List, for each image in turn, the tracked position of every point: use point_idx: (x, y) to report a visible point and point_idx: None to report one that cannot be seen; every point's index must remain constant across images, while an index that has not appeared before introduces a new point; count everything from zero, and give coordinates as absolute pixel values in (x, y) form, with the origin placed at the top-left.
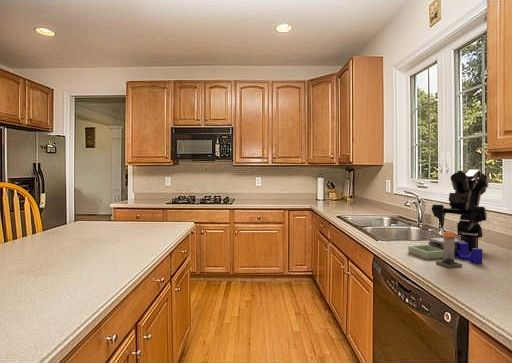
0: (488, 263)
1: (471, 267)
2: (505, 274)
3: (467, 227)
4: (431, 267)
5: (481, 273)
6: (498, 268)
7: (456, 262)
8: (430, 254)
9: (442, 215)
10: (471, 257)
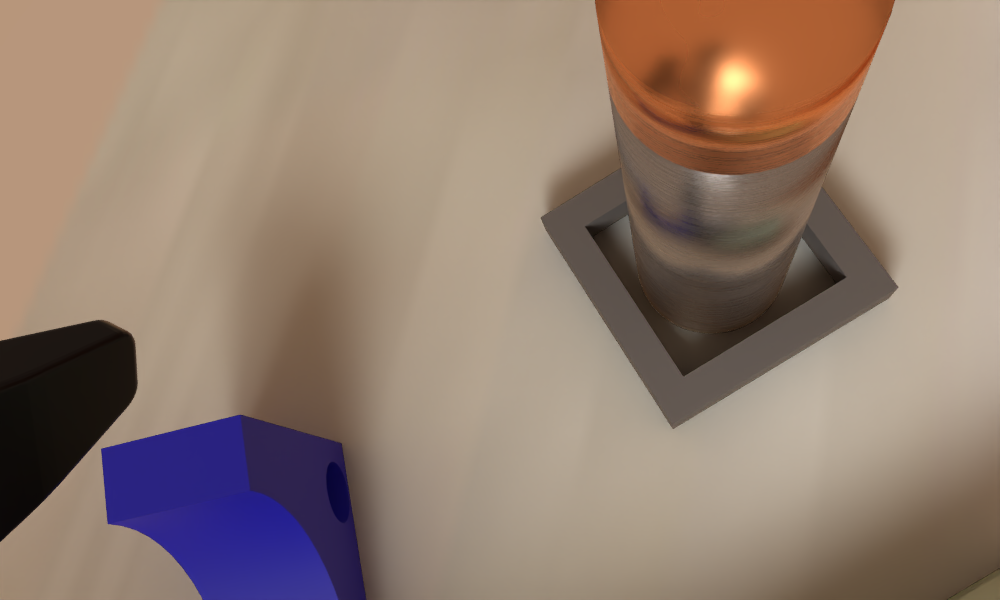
0: (132, 548)
1: (428, 248)
2: (154, 56)
3: (89, 342)
4: (977, 71)
5: (395, 6)
6: (117, 303)
7: (596, 298)
8: (991, 594)
9: None
10: (322, 512)
